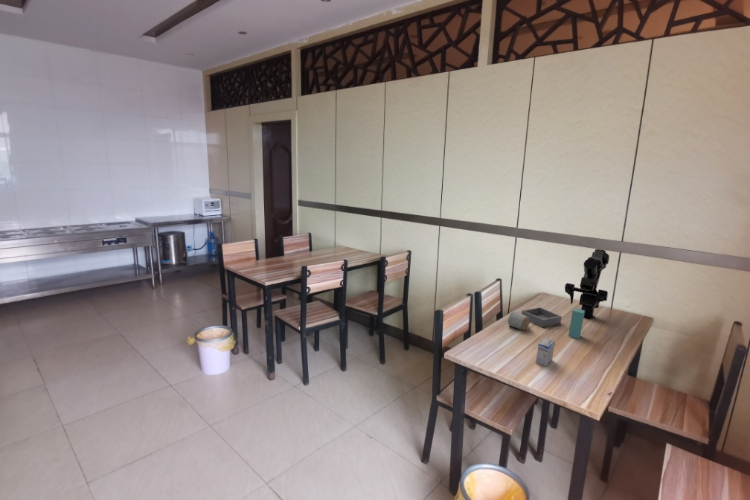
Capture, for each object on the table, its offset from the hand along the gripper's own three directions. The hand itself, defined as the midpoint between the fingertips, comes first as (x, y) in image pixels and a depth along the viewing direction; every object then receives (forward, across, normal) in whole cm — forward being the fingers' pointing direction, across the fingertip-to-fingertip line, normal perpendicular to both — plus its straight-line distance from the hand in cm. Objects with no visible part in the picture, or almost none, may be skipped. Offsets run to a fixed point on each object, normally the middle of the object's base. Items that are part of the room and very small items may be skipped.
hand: (581, 306), depth 192 cm
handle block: (+14, 0, +4) cm, 15 cm away
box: (+8, -18, +10) cm, 22 cm away
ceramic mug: (+20, -24, -1) cm, 31 cm away
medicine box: (+41, -5, -22) cm, 46 cm away
